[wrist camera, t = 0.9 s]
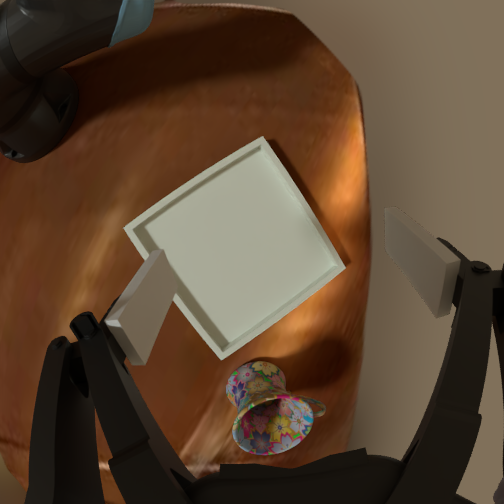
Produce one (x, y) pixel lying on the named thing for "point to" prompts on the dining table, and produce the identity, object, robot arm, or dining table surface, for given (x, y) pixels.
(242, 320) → the tray
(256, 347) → the dining table surface
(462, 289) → the robot arm
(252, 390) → the mug
